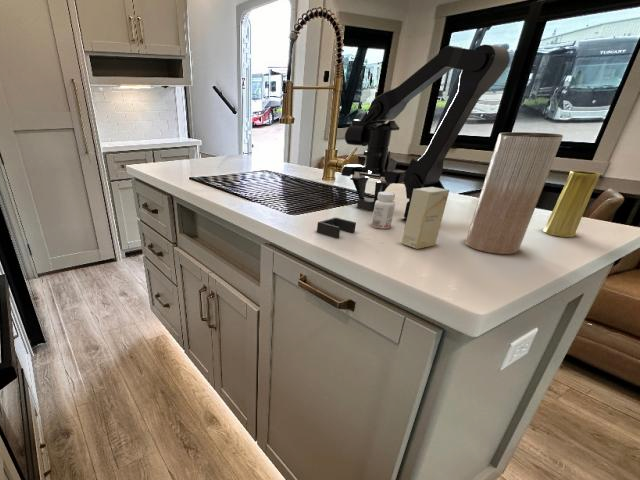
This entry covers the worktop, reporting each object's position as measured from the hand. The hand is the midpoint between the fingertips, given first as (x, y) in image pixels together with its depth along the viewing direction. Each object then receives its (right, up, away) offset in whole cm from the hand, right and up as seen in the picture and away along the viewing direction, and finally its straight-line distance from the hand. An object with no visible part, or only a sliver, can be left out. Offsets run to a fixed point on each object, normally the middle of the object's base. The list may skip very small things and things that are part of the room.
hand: (368, 203), depth 109 cm
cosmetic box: (+1, -17, -28) cm, 33 cm away
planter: (+16, -18, -29) cm, 38 cm away
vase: (+39, -13, -21) cm, 46 cm away
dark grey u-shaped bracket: (-15, -13, -20) cm, 28 cm away
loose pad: (0, -1, +1) cm, 2 cm away
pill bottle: (-3, -11, -16) cm, 19 cm away
